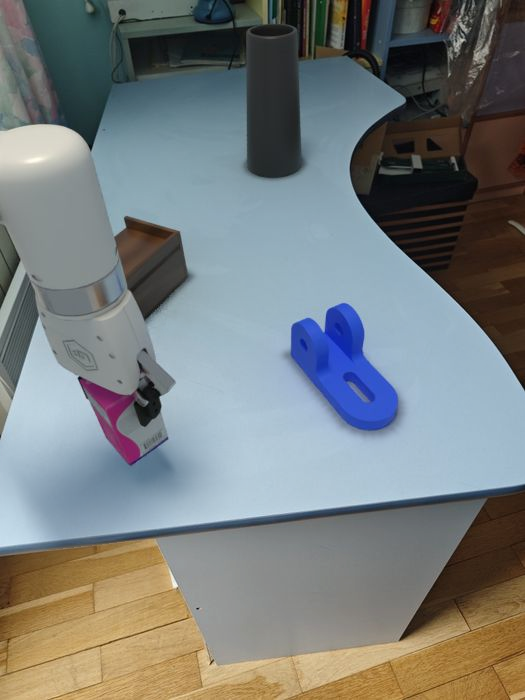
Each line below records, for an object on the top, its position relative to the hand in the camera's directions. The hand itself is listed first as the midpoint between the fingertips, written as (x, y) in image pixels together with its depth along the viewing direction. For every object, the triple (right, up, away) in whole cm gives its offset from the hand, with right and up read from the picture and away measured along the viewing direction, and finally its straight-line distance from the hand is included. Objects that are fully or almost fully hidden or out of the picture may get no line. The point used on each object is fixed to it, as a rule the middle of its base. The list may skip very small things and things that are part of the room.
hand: (124, 403), depth 55 cm
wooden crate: (-7, +17, +34) cm, 38 cm away
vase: (+19, +52, +66) cm, 87 cm away
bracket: (+28, +1, +18) cm, 33 cm away
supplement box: (0, -5, +5) cm, 7 cm away
